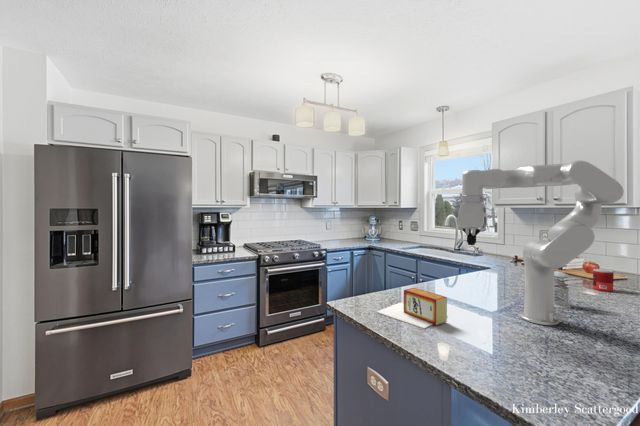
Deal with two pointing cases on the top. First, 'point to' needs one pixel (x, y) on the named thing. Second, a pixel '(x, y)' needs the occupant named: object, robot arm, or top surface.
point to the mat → (403, 315)
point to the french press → (561, 291)
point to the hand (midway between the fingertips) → (471, 244)
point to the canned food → (603, 280)
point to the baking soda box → (425, 305)
